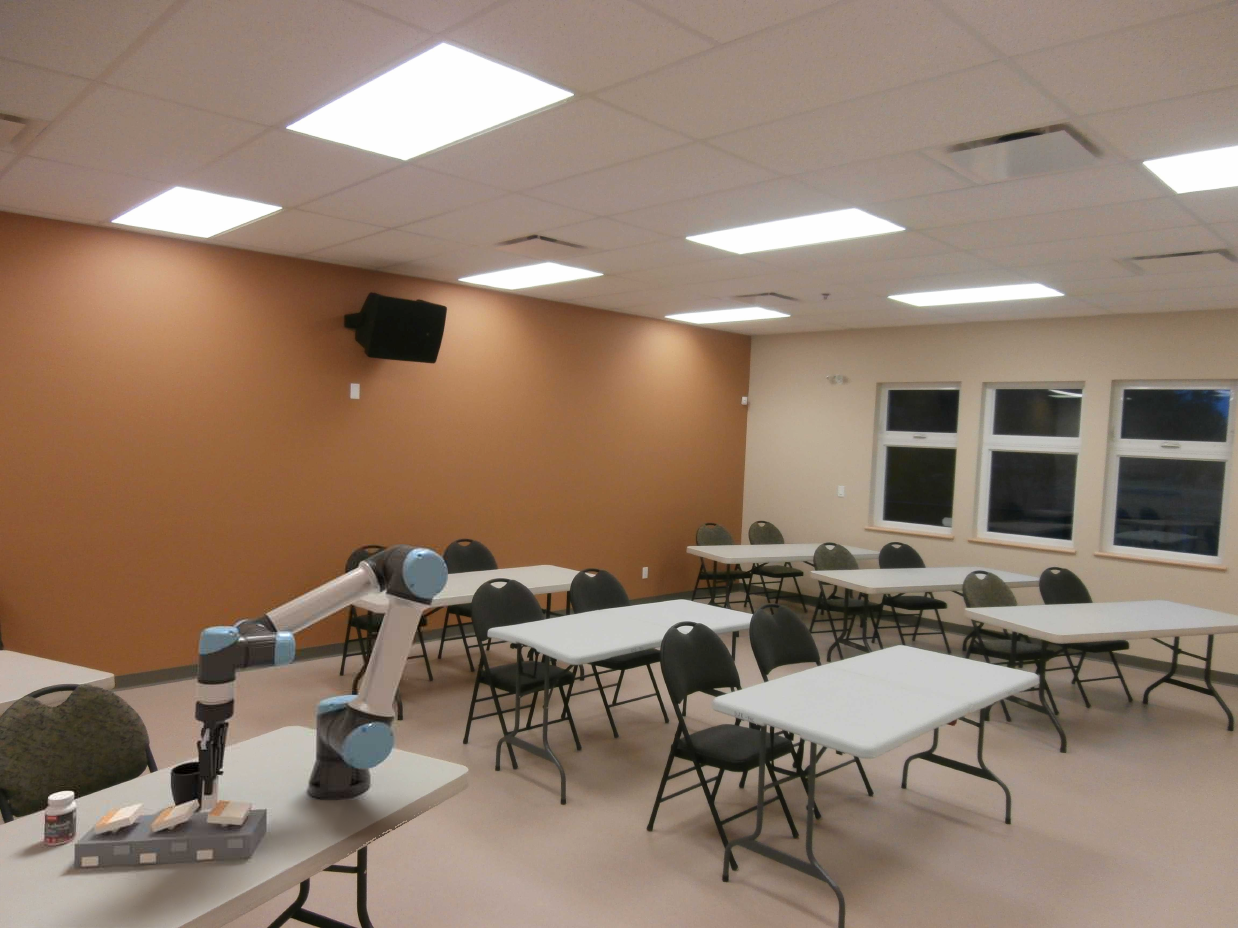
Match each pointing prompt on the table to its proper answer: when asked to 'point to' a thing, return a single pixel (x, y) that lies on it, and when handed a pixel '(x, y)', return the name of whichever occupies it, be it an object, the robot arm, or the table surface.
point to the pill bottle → (60, 818)
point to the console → (171, 842)
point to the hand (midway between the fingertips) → (209, 807)
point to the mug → (186, 783)
